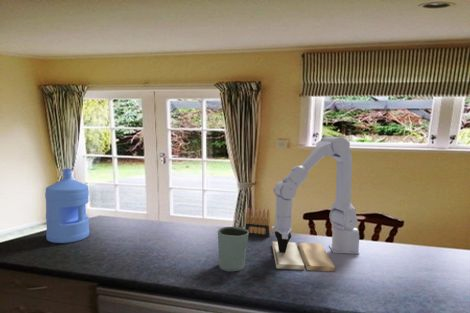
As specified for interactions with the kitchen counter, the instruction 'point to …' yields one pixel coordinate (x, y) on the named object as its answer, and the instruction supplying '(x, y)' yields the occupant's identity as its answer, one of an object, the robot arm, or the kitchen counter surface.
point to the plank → (288, 257)
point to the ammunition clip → (258, 223)
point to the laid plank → (315, 257)
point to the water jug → (66, 210)
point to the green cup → (232, 248)
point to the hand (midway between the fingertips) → (282, 252)
